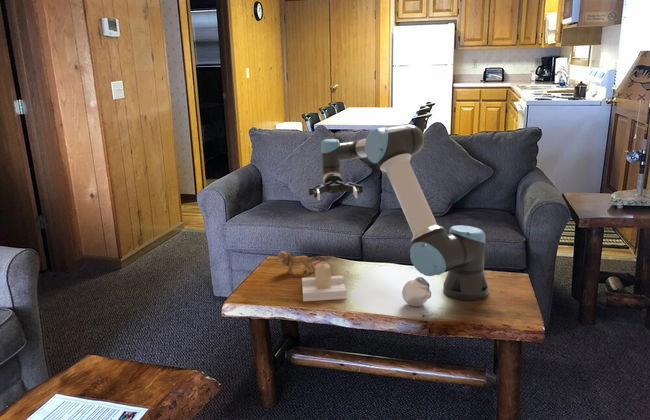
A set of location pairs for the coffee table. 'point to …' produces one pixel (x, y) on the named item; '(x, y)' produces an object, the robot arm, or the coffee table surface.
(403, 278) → the coffee table surface
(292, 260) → the lion figurine
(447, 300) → the coffee table surface
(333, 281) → the tray
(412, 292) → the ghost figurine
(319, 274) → the candle
